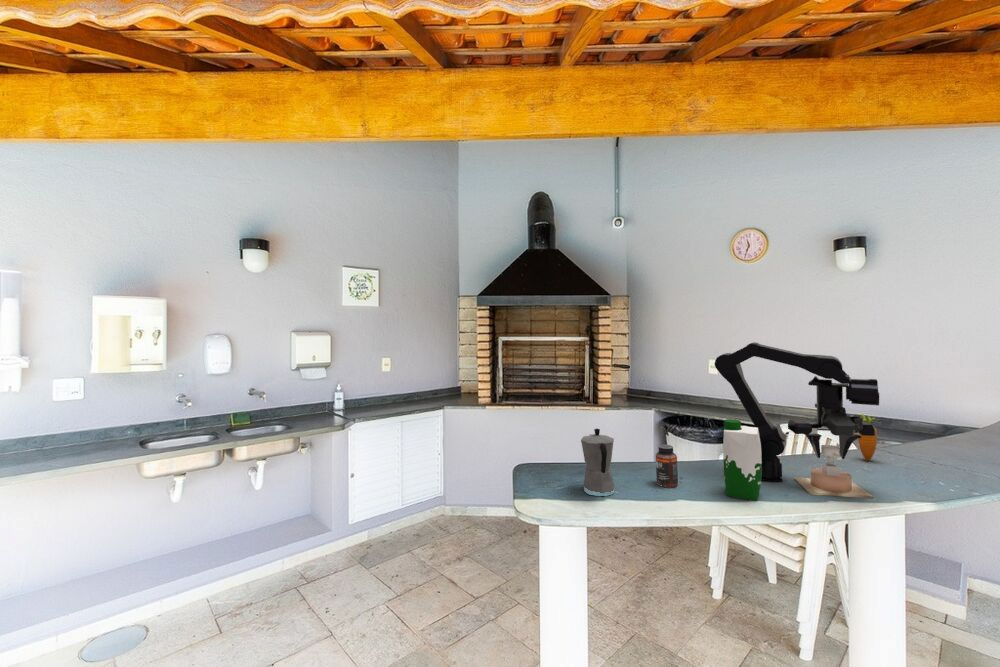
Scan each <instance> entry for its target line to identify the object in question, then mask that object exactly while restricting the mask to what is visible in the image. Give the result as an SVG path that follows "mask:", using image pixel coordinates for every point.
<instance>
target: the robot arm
mask: <svg viewBox="0 0 1000 667" xmlns="http://www.w3.org/2000/svg"><path fill="white" fill-rule="evenodd" d="M753 357H756V358H760V359H764V360H769V361H773V362H777V363H781V364H783V365H785V364H786V365H788V366H793V367H798V368H800V369H802V370H805V371H806V372H809V373H812V374H814V375H815V376H814V377H813V378H812V379H811V380H809V381H808V382H807V384H808V386H815V387H816V403H814V408H816V417H815V418H814V422H816V423H813V422H808V421H807V420H805V419H790V420H788V422H787V429H788V430H789V431H791V432H792V433H794V434H797V435H804V436H806V438H807V440H808V442H809V443H810V446H811V447H812V450H813V452H814V454H815V456H816V458H817V459H820V458H821V445H820V440H821V437H822V435H820V434H819V433H818V431H824V432H825V431H828V432H830V434H831V435H834V436H837V437H838V440H839V442H838V447H839V450H840V456H841V457H842V460H844V459H845V458H846V456H847V453H848V451H849V449H850V447H851V446H852V444H853V443H854V441H856V440H858V438H862V436H860V435H859V433H860V434H861V435H863V436H875V435H876V430H877V428H876V427H875V426H874V425H873V424H869V423H867V422H868V421H867V422H864V420H863V419H862V417H861V416H859V415H858V416H855V415H851V416H848V415H847V412H846V411H847V410H846V407H843V406H844V400H843V399H844V396H843V395H844V394H843V393H844V392H843V391H844V390H843V388H845V400H847V401H849V402H850V404H852V405H853V404H854V405H862V406H863V405H864V406H865V405H866V406H880V392H879V383H878V380H877V378H870V379H869V378H868V379H865V378H863V379H861V378H858V379H857V378H851V377H850V374H847V373H846V372H845V370H843V363H842V362H841V360H840V359H839V358H838V357H836V356H833V355H823V354H822V355H821V354H807V353H806V354H804V353H800V352H796V351H791V350H789V349H788V350H787V349H783V348H779V347H775V346H770V345H765V344H762V343H759V342H751V343H748V344H747V345H746V346H744V347H742V348H740V349H738V350H736V351H734V352H732V353H731V352H725V353H722V354H720V355H719V356H717V357H716V359H714V367H715V370H717V371H718V372H719V374H720V375H721V377H723V378H724V379H725V380H726V381H727V383H729V385H731V387H732V388H733V391H734V392H735V394H736V396H737V397H738V399H739V401H740V402H741V405H742V406H743V408H744V409H745V411H746V413H747V415H748V416H749V418H750V420H751V421H752V424H753V425H754V427H756V428H758V431H759V437H760V443H761V459H762V477H761V481H768V482H783V479H782V477H783V464H782V462H781V459H780V458H779V457H778V456H780V455H782V454H784V451H785V448H786V445H787V437H788V436H787V434H785V433H784V431H783V429H782V427H781V424H780V423H777V424H774V423H773V422H771V421H770V419H769V417H768V416H767V414H766V413H765V411H764V410H763V407H762V406H761V404H760V403H759V401H758V399H757V397H756V395H755V394H754V392H753V391H752V389H751V387H750V385H749V384H748V382H747V381H746V379H745V375H744V371H743V368H742V364H741V363H743V362H745V361H747V360H749V359H751V358H753ZM817 376H818V377H817ZM819 377H821V378H823V379H821V378H819ZM833 380H834V381H836V382H833ZM875 428H876V429H875Z"/></svg>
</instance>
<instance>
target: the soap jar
mask: <svg viewBox="0 0 1000 667" xmlns="http://www.w3.org/2000/svg"><path fill="white" fill-rule="evenodd" d="M810 478H811V484H812V485H813V486H814V487H816V488H819V489H822V490H825V491H830V492H838V493H845V492H850V491H851V490H852V482H853V479H852V478H853V477H852V475H851V474H850V473H848V472H846V471H842V470H840V466H838V465H837V464H836V463H834V465H829V464H827V462H822V463H821V467H816V468H815V467H814V468H811V470H810Z"/></svg>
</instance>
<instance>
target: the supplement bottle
mask: <svg viewBox="0 0 1000 667" xmlns="http://www.w3.org/2000/svg"><path fill="white" fill-rule="evenodd" d="M678 474H679V473H678V456H677V453H674V446H673V445H671V444H659V445H658V452H656V454H655V475H656V476H655V477H656V484H657V483H658V484H660V485H662V486H661V487H663V486H666V487H665V488H675V487H677V486H678V484H679V475H678ZM658 484H657V485H658ZM660 485H659V486H660Z"/></svg>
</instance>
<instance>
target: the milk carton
mask: <svg viewBox="0 0 1000 667" xmlns="http://www.w3.org/2000/svg"><path fill="white" fill-rule="evenodd" d="M723 422H724V423H723V444H722V448H723V453H722V455H723V456H722V457H723V478H724V484H725V491H726V497H729V498H737V499H741V500H742V499H743V500H749V501H753V502H755V501H756V502H758V500H759V494H760V489H761V484H762V480H761V477H762V459H761V443H760V437H759V431H758V428H756V427H755V426H748V425H742V422H741V420H739V419H731V418H730V419H729V418H727V419H726V418H725V419H724V421H723Z"/></svg>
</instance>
